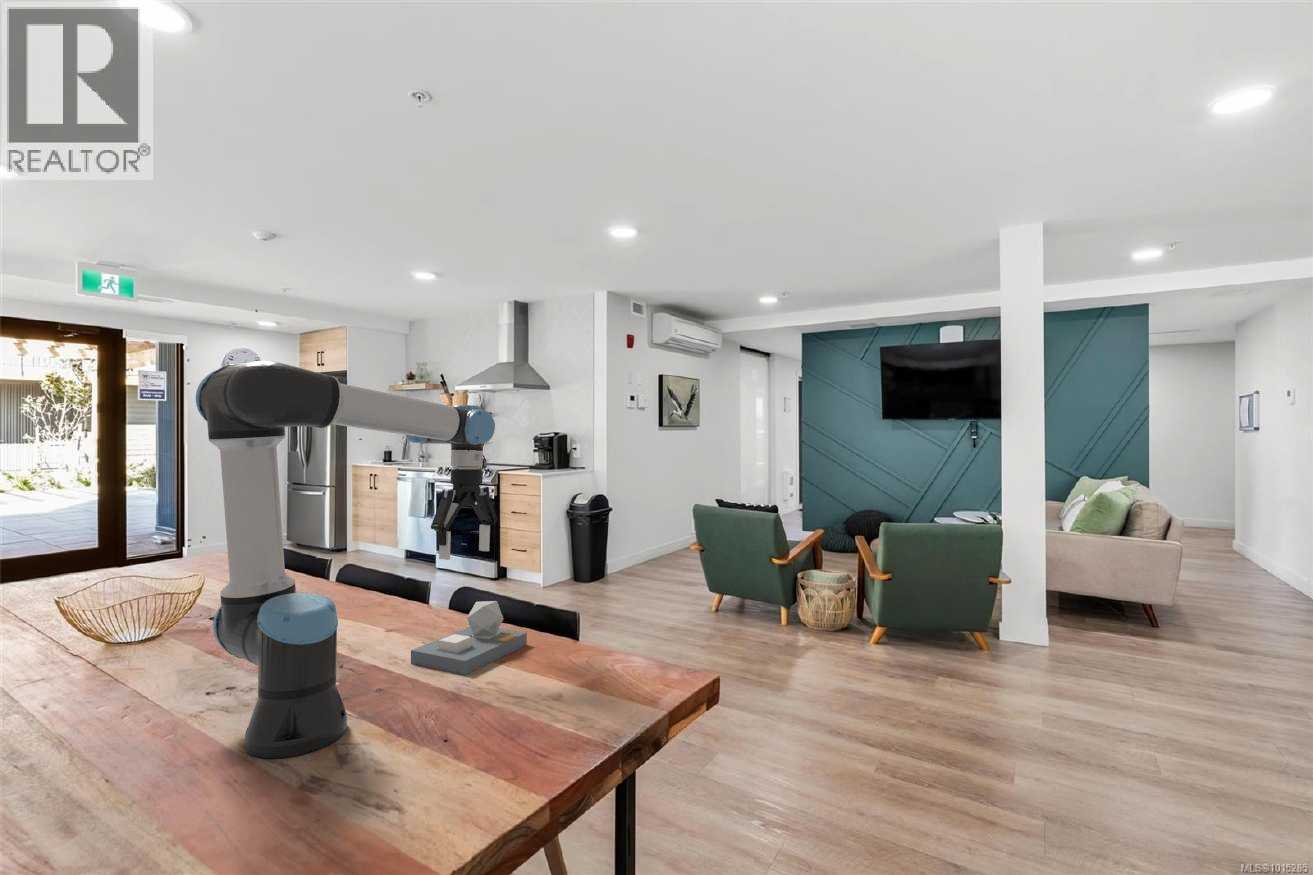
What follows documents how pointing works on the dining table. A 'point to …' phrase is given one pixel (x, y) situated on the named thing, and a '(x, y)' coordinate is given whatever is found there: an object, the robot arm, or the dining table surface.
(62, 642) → the dining table surface
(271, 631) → the robot arm
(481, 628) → the die
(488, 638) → the tagged button
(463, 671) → the breaker panel
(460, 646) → the button
